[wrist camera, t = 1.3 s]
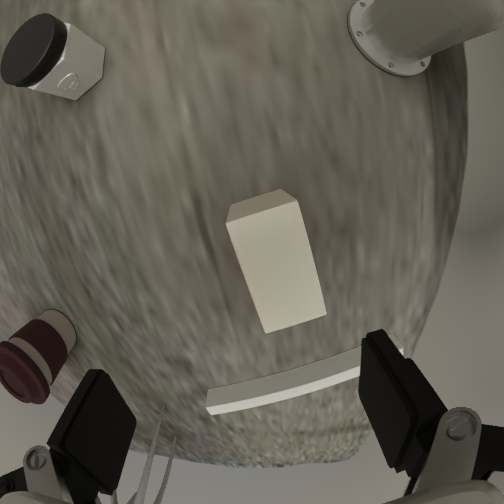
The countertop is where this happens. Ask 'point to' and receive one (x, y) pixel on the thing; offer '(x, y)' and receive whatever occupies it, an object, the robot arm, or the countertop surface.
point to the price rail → (287, 382)
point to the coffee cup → (36, 356)
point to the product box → (276, 259)
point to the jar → (52, 58)
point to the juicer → (138, 497)
